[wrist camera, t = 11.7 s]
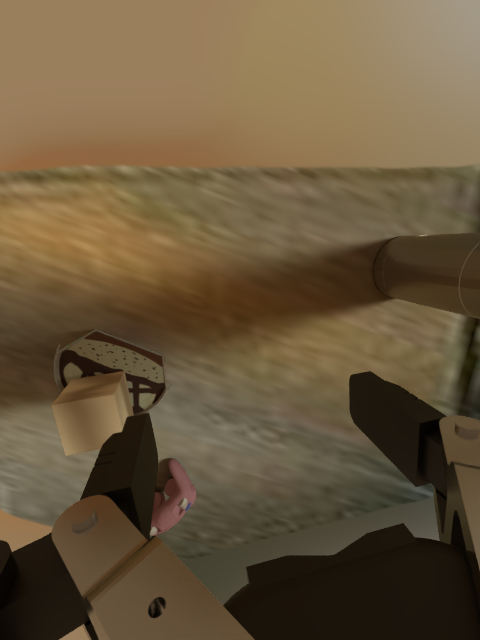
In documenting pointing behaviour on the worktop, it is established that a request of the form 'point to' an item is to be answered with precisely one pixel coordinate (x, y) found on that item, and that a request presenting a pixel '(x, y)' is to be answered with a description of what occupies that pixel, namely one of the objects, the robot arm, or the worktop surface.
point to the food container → (114, 367)
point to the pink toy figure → (172, 500)
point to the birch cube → (92, 411)
